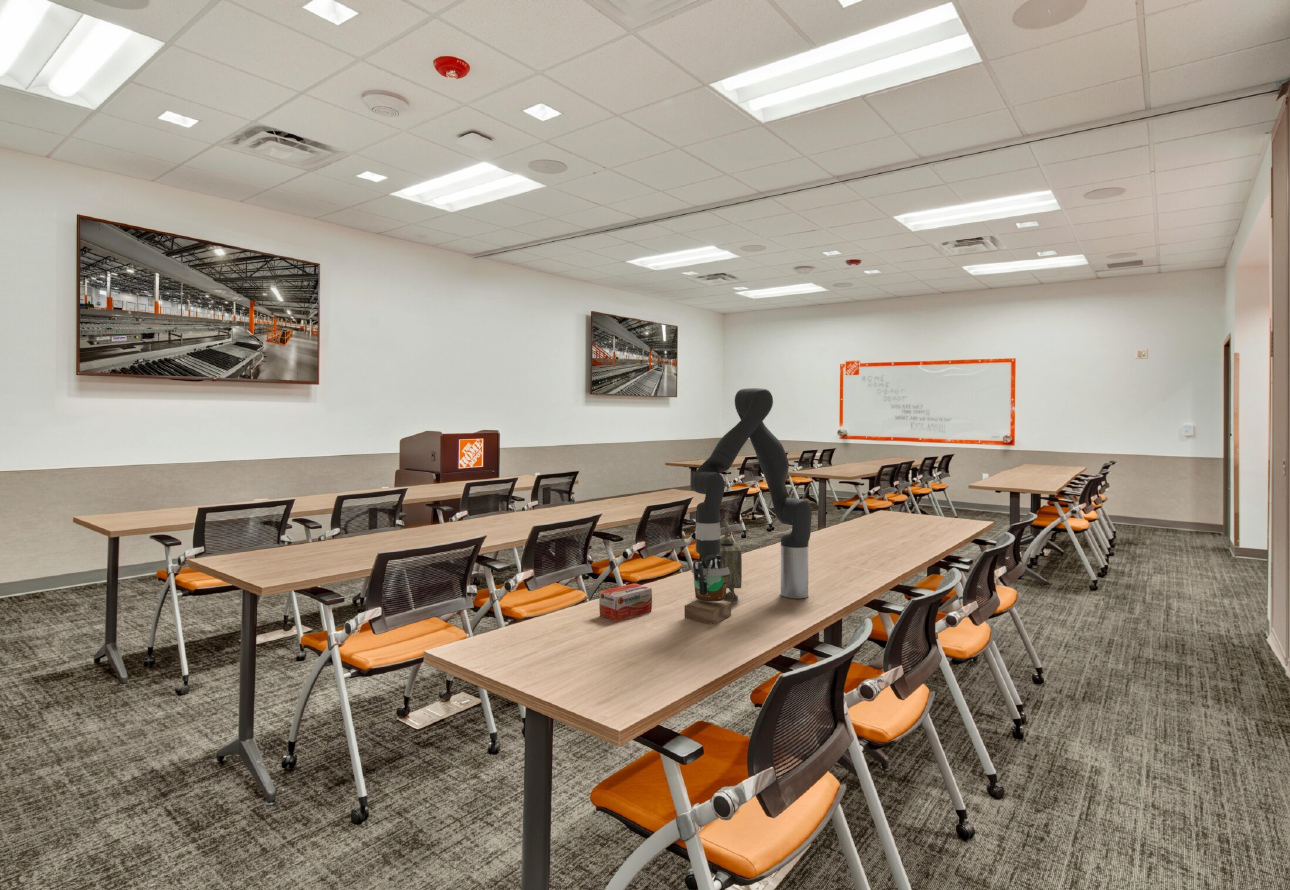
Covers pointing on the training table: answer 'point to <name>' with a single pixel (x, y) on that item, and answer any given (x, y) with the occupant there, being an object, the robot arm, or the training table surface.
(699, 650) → the training table surface
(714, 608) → the plinth
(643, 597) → the medicine box
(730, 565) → the tabletop clock
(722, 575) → the food container
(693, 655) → the training table surface
